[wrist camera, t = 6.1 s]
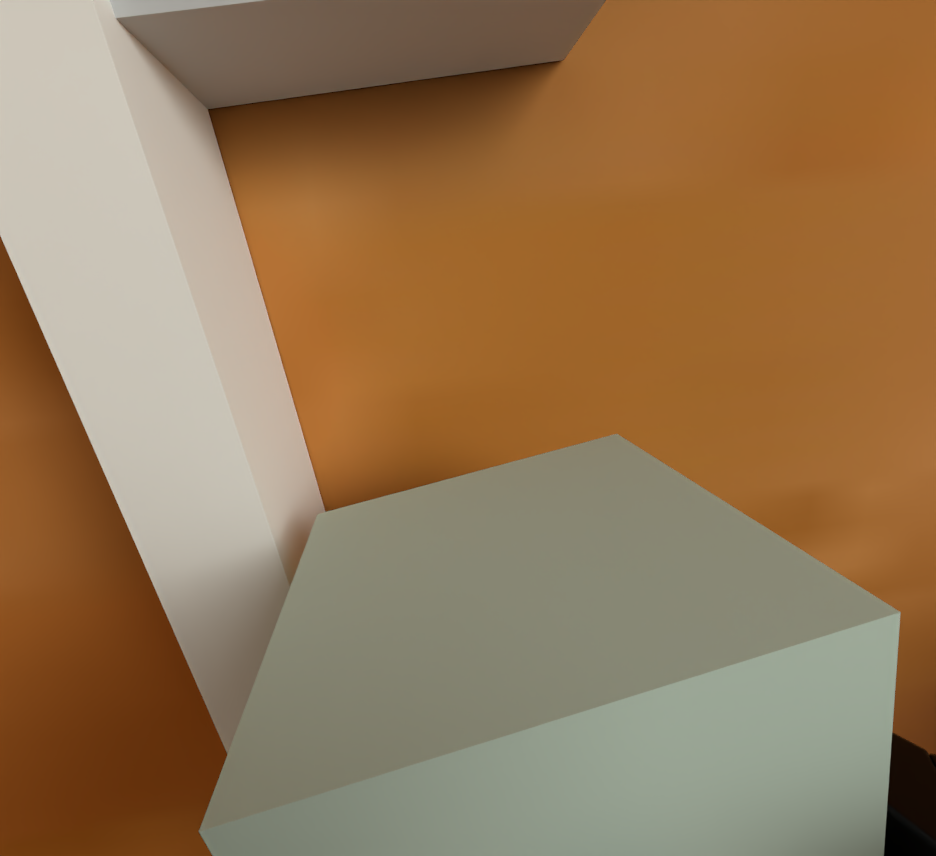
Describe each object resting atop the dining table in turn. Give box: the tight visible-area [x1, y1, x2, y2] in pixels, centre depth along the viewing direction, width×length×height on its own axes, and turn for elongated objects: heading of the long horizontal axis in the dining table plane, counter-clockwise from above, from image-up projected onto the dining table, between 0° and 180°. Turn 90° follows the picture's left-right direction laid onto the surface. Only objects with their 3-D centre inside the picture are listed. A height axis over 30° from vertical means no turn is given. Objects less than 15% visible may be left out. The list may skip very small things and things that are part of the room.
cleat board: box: [0, 0, 606, 755], centre depth 11 cm, size 9×31×4 cm, turn 10°
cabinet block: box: [199, 434, 900, 856], centre depth 7 cm, size 6×8×6 cm
